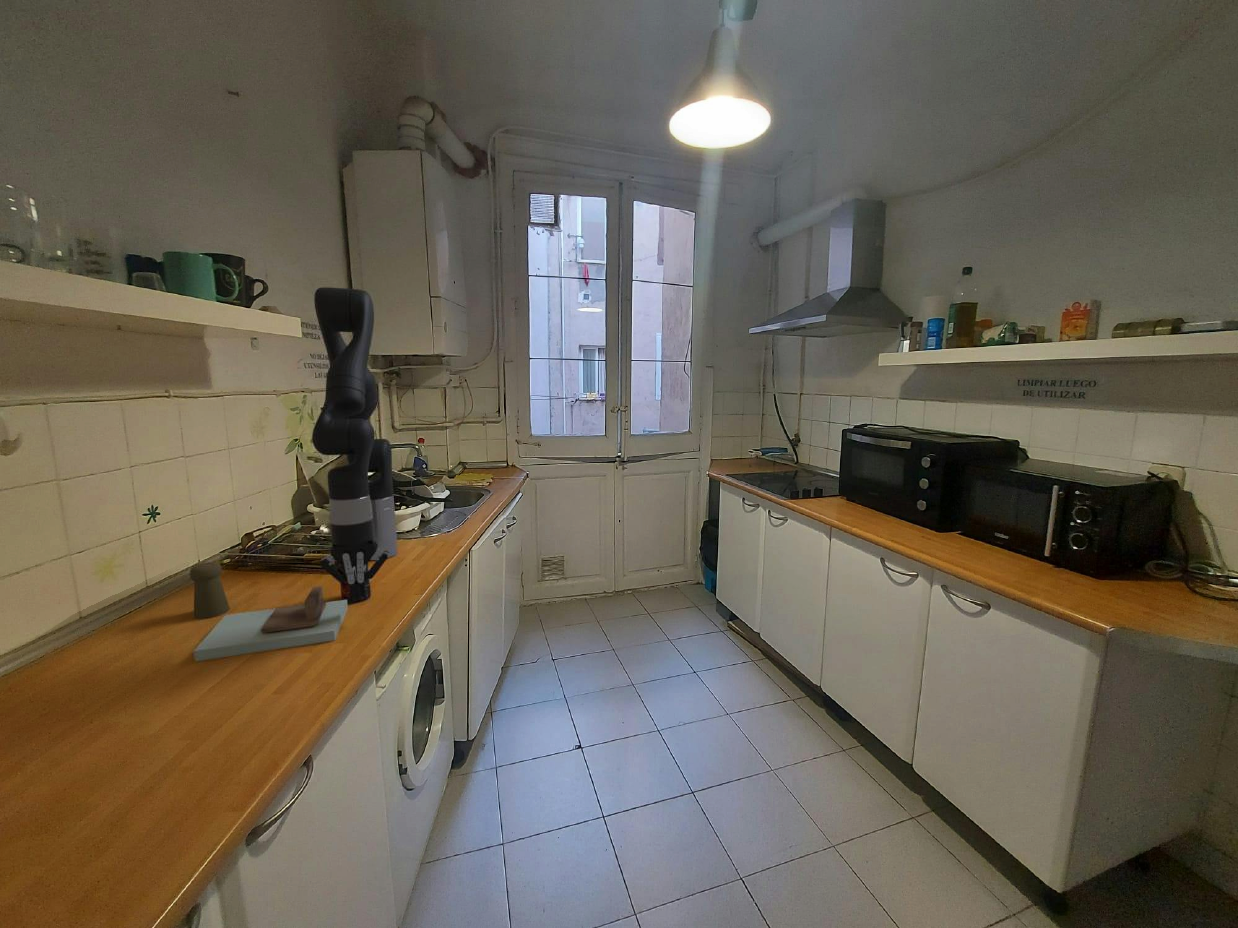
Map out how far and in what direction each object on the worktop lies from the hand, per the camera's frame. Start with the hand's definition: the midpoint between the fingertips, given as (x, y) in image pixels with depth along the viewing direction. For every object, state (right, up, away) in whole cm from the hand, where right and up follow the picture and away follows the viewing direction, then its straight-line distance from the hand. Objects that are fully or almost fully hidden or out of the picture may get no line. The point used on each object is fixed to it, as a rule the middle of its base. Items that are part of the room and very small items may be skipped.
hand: (358, 598), depth 101 cm
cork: (-34, -4, +4) cm, 34 cm away
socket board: (-14, -6, -4) cm, 15 cm away
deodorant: (-7, -3, +11) cm, 13 cm away
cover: (-11, -3, -3) cm, 12 cm away
